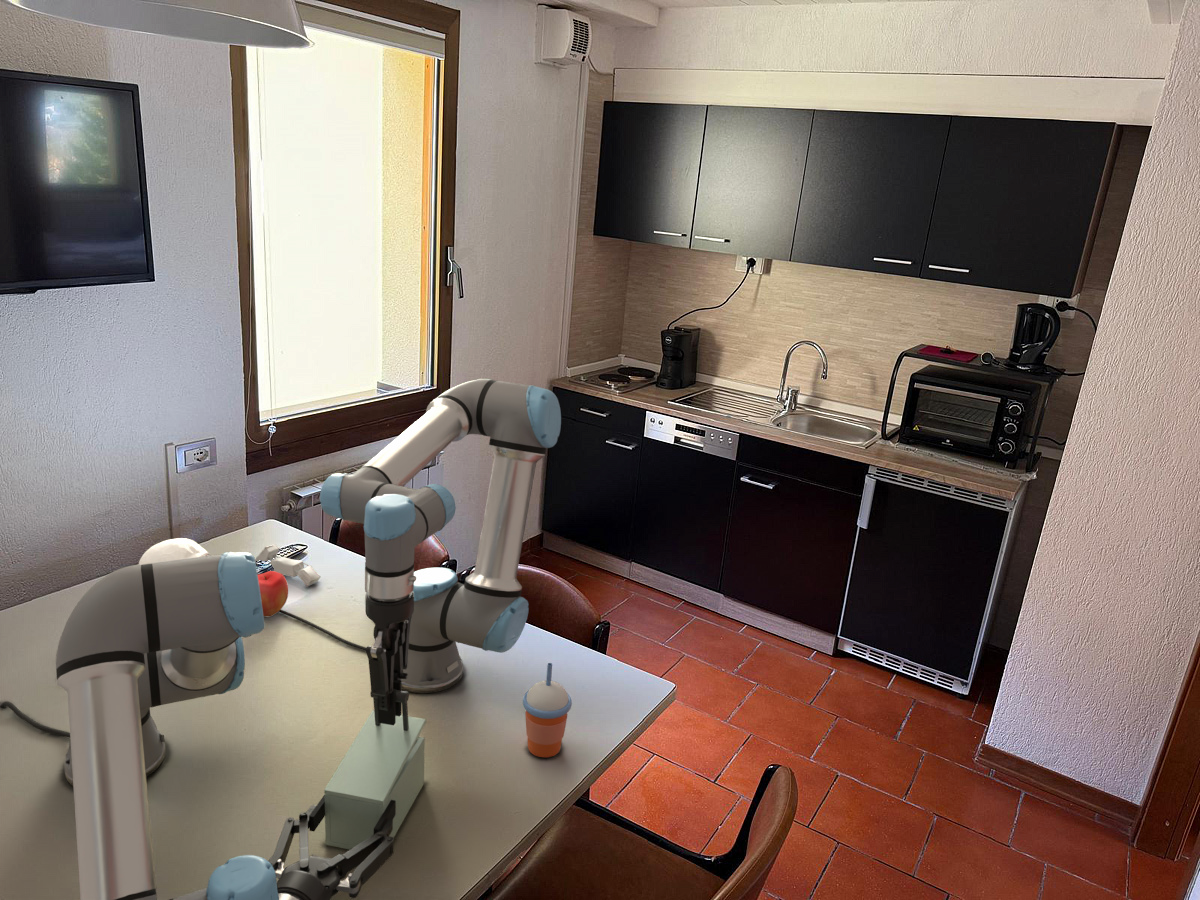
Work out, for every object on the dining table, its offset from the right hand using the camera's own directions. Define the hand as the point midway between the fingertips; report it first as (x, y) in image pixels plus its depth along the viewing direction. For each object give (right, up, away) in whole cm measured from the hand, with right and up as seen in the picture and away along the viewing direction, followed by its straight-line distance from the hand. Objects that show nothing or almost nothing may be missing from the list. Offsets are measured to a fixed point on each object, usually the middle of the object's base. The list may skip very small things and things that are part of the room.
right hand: (389, 718), depth 142 cm
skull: (-63, +8, +60) cm, 88 cm away
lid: (-1, -5, -3) cm, 6 cm away
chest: (-2, -16, 0) cm, 16 cm away
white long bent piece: (-46, +12, +78) cm, 91 cm away
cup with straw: (+24, -12, +19) cm, 33 cm away
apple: (-43, +6, +58) cm, 73 cm away
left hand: (-2, -11, -8) cm, 13 cm away
